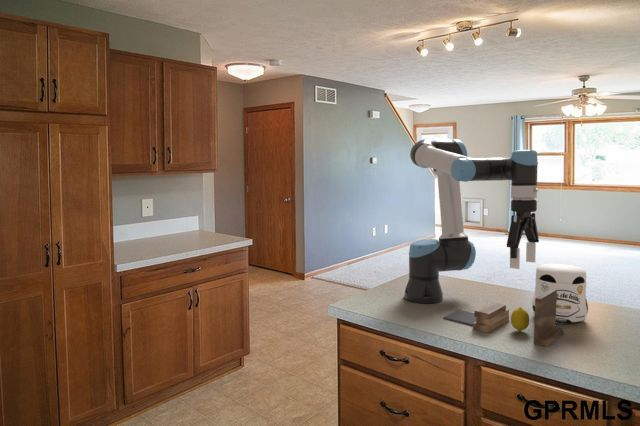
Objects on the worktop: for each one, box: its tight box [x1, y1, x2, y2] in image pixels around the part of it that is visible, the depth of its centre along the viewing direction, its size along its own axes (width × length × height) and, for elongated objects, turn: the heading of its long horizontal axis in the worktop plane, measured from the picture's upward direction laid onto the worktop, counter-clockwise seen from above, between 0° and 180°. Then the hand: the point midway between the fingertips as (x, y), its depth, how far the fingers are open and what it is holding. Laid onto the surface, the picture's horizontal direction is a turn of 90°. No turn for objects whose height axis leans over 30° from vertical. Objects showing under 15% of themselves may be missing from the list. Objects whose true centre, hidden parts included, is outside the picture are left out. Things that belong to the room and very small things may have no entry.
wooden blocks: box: [472, 289, 565, 348], centre depth 153 cm, size 23×16×14 cm
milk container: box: [531, 263, 589, 325], centre depth 163 cm, size 17×17×18 cm
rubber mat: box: [442, 309, 476, 327], centre depth 166 cm, size 11×11×1 cm
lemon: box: [510, 307, 530, 332], centre depth 153 cm, size 6×6×8 cm
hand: (522, 265), depth 152 cm, fingers open, 13 cm apart
